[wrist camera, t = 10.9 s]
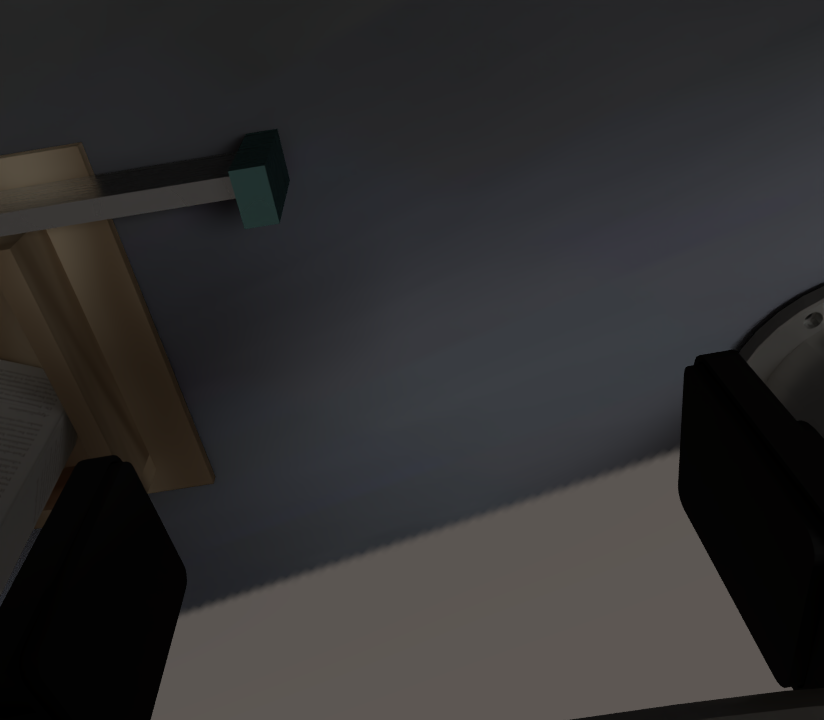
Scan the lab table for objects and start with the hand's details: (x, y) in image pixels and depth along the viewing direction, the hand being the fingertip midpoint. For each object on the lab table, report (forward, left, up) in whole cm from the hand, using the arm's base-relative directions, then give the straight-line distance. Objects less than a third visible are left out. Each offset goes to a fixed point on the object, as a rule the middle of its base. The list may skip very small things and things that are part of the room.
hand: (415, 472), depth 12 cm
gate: (+9, -1, -18) cm, 21 cm away
